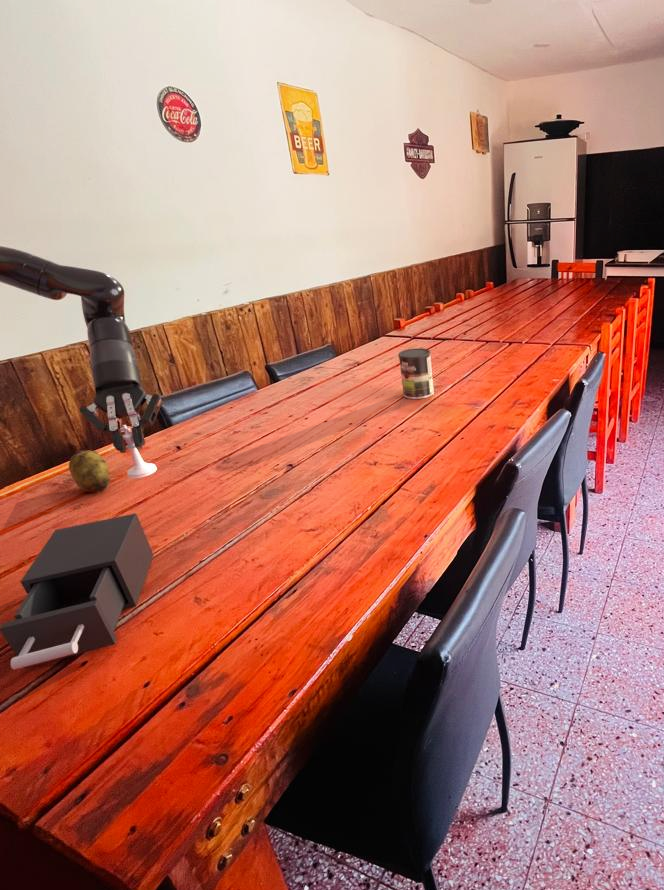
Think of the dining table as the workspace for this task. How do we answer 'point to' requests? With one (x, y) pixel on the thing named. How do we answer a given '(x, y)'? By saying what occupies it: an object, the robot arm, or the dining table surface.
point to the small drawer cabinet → (96, 554)
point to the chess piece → (136, 458)
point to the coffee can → (416, 373)
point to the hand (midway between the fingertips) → (130, 449)
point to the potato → (89, 471)
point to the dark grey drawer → (65, 617)
